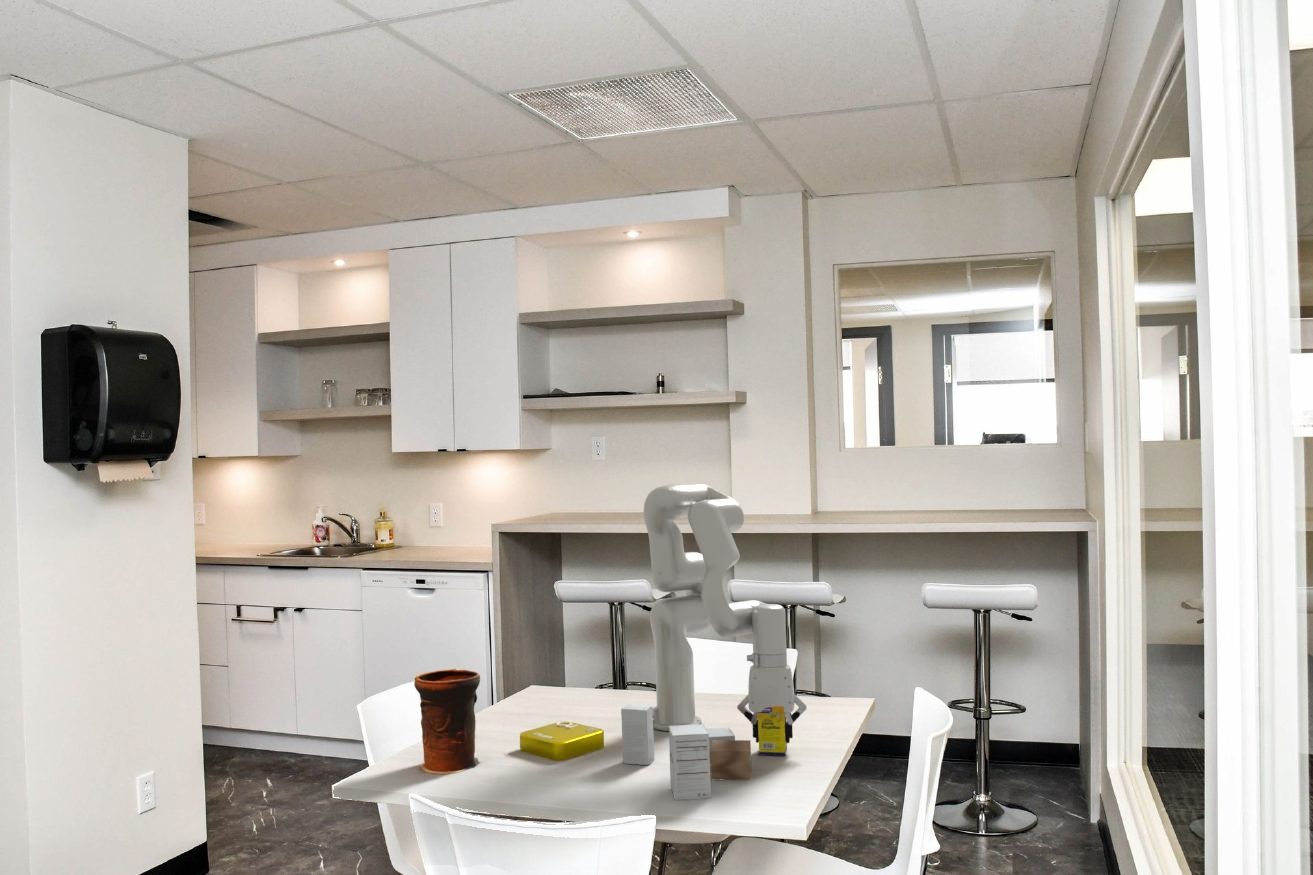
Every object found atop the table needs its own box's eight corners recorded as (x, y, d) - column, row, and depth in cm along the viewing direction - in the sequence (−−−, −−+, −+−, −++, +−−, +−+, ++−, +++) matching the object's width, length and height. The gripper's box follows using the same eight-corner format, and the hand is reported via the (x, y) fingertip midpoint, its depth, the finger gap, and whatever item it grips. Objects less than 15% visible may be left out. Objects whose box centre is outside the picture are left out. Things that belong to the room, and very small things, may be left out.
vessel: (409, 760, 225) (409, 671, 226) (471, 753, 231) (471, 666, 232) (420, 778, 212) (420, 683, 213) (486, 769, 218) (486, 677, 218)
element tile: (516, 751, 231) (515, 731, 231) (564, 737, 242) (564, 717, 242) (559, 763, 221) (558, 741, 221) (608, 748, 232) (607, 727, 232)
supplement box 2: (785, 756, 220) (784, 706, 220) (758, 755, 221) (757, 705, 221) (787, 748, 226) (786, 699, 226) (761, 748, 227) (759, 699, 227)
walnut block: (711, 780, 205) (710, 750, 205) (713, 768, 213) (712, 740, 213) (750, 780, 204) (749, 751, 204) (751, 768, 212) (750, 740, 212)
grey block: (703, 765, 215) (702, 737, 216) (699, 756, 222) (698, 729, 223) (735, 763, 216) (734, 735, 216) (730, 754, 223) (729, 727, 223)
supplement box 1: (670, 788, 200) (668, 725, 201) (706, 786, 201) (704, 723, 201) (673, 800, 193) (671, 734, 193) (711, 798, 194) (709, 732, 194)
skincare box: (654, 760, 220) (653, 705, 220) (648, 765, 216) (646, 710, 216) (629, 758, 222) (627, 704, 222) (622, 763, 218) (620, 708, 218)
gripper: (730, 663, 222) (733, 745, 221) (808, 663, 219) (811, 746, 218) (733, 657, 229) (735, 736, 228) (809, 656, 226) (812, 737, 226)
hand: (772, 740), depth 223 cm, fingers closed on supplement box 2, 6 cm apart
